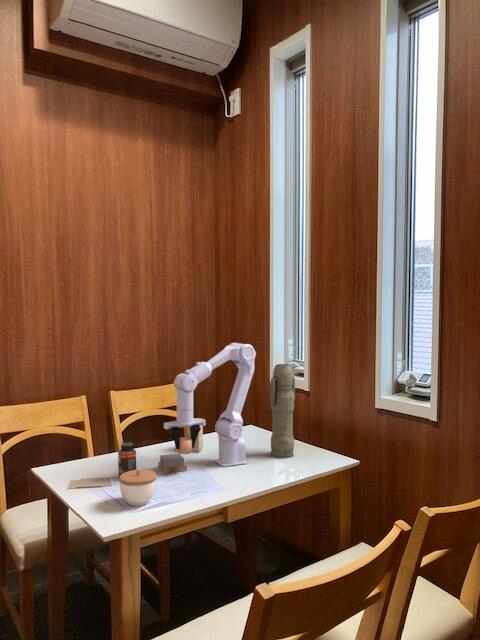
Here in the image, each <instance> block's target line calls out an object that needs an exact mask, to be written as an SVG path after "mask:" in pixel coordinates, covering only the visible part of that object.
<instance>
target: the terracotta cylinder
mask: <svg viewBox="0 0 480 640" xmlns="http://www.w3.org/2000/svg"><path fill="white" fill-rule="evenodd" d="M177 453H179V454H181V455H189V454H192V453H193V452H192V438H189V437H185V436H184V437H183V436H182V437H179V449H178V450H177Z"/></svg>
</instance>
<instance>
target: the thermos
mask: <svg viewBox="0 0 480 640" xmlns="http://www.w3.org/2000/svg"><path fill="white" fill-rule="evenodd" d="M292 368H293V367H292V366H291V365H290V364H289V363H277V364H276V365H274V367H273V371H272V377H271V379H270V381H269V382H270V384H269V386H270V389H269V395H270V396H269V399H270V401H269V402H270V405H271V406H270V407H271V411H272V412H271V413H272V414H271V415H272V416H271V417H272V418H271V419H272V421H271V422H272V423H271V424H272V425H271V426H272V431H271V433H272V434H271V437H270V449H271V451H270V452H271V453H270V455H271V457H273V458H278V459H289V458H292V457H294V450H295V437H294V434H293V433H294V432H293V431H294V429H293V427H294V425H293V424H294V423H293V422H294V419H293V418H294V416H293V414H294V410H295V401H296V379H295V377H294V375H293V373H294V372H293V369H292Z"/></svg>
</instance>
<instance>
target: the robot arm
mask: <svg viewBox="0 0 480 640" xmlns="http://www.w3.org/2000/svg"><path fill="white" fill-rule="evenodd" d="M256 355H257V352H256V351H255V348H254V347H253V346H252V345H251V344H249V343H246V344H245V343H239V342H238V343H237V342H231V343H230V344H229V345H226V346H225V347H224V349H222V350H221V351H220V352H218V353H217V354H216V355H215V356H214V355H213V357H211V358H210V359H209V360H208V361H206V362H205V361H201V362H200V361H197V362H196V363H195V365H194V366H192V368H190V369H186V370H185V372H183V373H182V372H181V373H179V374H177V376H176V377H175V379H174V381H173V387H174V388H175V389H176V420H172V421H167V422H166V421H165V422H163V429H165V430H169V432H170V434H171V436H172V438H173V441H174V447H175V449H176V450H177V451H178V449H179V438H180V435H181V431H180V428H188V427H190V438H192V448H194V446H195V441H196V438H197V436H198V434H199V432H200V430H201V427H200V426H201V425H202V426H203V427H204V426H205V427H206V425H207V423H206V419H205V418H198V419H193V418H194V390H196V388H197V386H198V384H200V383H201V382H203V381H204V380H205V379H207V378H209V377H210V376H211V375H212V371H213V370H215V369H217V368H218V367H220V366H221V365H223V364H224V363H227V362H228V361H232V362H233V363H234V364H235V365H236V367H237V369H238V372H237V375H236V378H235V381H234V385H233V388H232V391H231V394H230V398H229V400H228V403H227V406H226V410H224V411H223V412H222V413H221V414H220V416H219V418H218V420H217V421H216V422H215V425H214V430H215V433H216V434H217V438H218V458H216V459H214V462H215V463H217V464H218V465H219V466H220V467H222V468H224V467H231V466H236V465H246V464H247V462H246V442H245V439H244V438H243V437H242V434H243V425H244V424H243V423H244V420H243V418H242V411H243V408H244V405H245V403H246V402H245V401H246V398H247V395H248V391H249V388H250V385H251V381H252V378H253V376H254V373H255V367H256V366H255V358H256V357H257V356H256Z"/></svg>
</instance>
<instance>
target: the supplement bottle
mask: <svg viewBox="0 0 480 640" xmlns="http://www.w3.org/2000/svg"><path fill="white" fill-rule="evenodd" d="M117 456H118V457H117V461H118V462H117V464H118V465H117V466H118V468H117V471H118V475H117V476H118V478H119V477H120V475H121V474H123V473H125V472H128V471H132V470H137V450H136V449H134V443H133V442H122V443H121V444H120V450H118V455H117Z"/></svg>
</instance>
